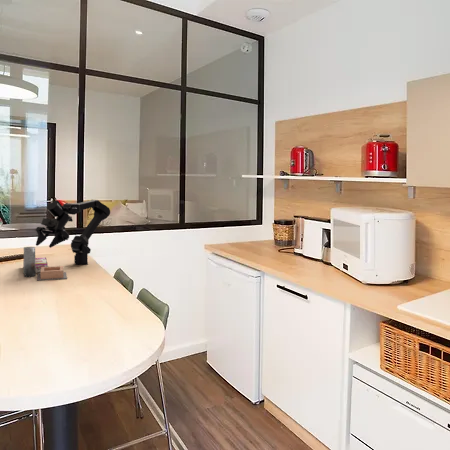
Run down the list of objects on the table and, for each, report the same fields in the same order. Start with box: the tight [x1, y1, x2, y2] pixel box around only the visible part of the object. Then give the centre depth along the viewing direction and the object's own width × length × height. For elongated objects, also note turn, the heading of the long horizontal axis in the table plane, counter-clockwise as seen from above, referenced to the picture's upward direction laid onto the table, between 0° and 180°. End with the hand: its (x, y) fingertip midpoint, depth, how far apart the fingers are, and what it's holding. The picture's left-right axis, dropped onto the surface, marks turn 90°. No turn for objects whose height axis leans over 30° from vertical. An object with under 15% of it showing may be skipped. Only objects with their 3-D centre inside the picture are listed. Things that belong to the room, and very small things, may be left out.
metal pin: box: [23, 246, 37, 278], centre depth 192 cm, size 5×5×14 cm
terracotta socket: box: [36, 265, 68, 281], centre depth 193 cm, size 13×13×4 cm
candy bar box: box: [22, 257, 49, 274], centre depth 205 cm, size 11×5×16 cm
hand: (43, 246), depth 199 cm, fingers open, 9 cm apart
